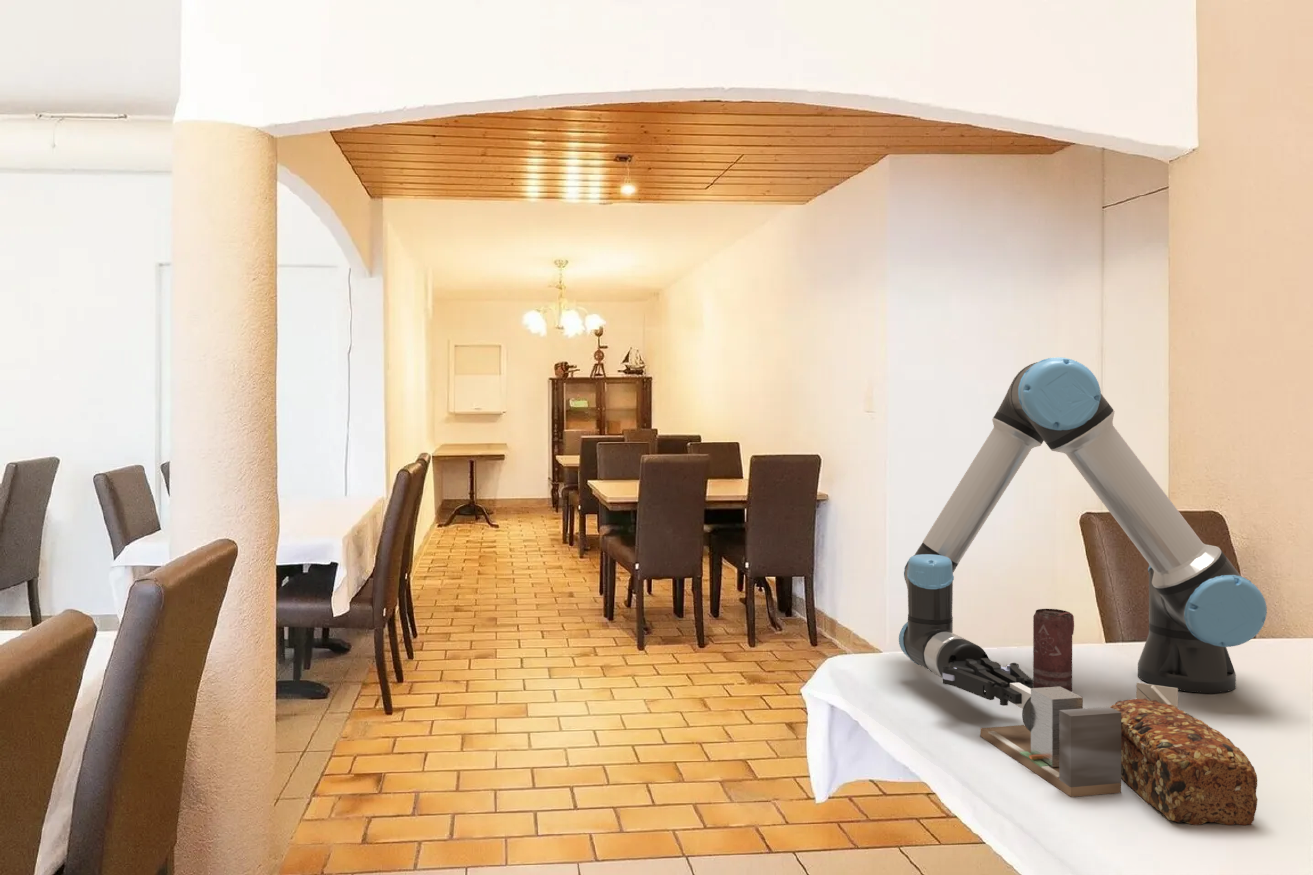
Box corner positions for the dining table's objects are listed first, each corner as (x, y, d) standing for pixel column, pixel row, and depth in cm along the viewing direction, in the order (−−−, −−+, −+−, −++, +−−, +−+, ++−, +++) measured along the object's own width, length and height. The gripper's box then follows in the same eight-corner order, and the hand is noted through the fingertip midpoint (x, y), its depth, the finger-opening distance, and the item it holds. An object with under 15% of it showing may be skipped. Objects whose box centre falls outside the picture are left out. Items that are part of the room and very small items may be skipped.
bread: (1100, 765, 125) (1101, 693, 125) (1181, 767, 125) (1182, 694, 124) (1167, 827, 107) (1167, 742, 107) (1262, 829, 106) (1263, 743, 106)
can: (1077, 698, 154) (1077, 615, 153) (1037, 696, 155) (1037, 614, 155) (1069, 688, 160) (1069, 608, 159) (1030, 686, 161) (1030, 607, 161)
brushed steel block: (1016, 751, 127) (1016, 687, 126) (1061, 748, 128) (1061, 684, 127) (1041, 767, 121) (1041, 700, 121) (1088, 764, 122) (1088, 697, 122)
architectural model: (1177, 744, 134) (1177, 694, 134) (1124, 735, 138) (1124, 686, 138) (1179, 737, 137) (1179, 688, 136) (1127, 729, 141) (1127, 681, 140)
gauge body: (980, 735, 137) (980, 668, 137) (1023, 732, 138) (1023, 665, 138) (1070, 796, 115) (1070, 716, 115) (1121, 792, 116) (1121, 712, 116)
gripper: (994, 681, 152) (1082, 729, 128) (920, 685, 150) (996, 735, 126) (994, 636, 151) (1082, 676, 128) (919, 640, 149) (996, 681, 126)
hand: (1040, 705), depth 127 cm, fingers closed
